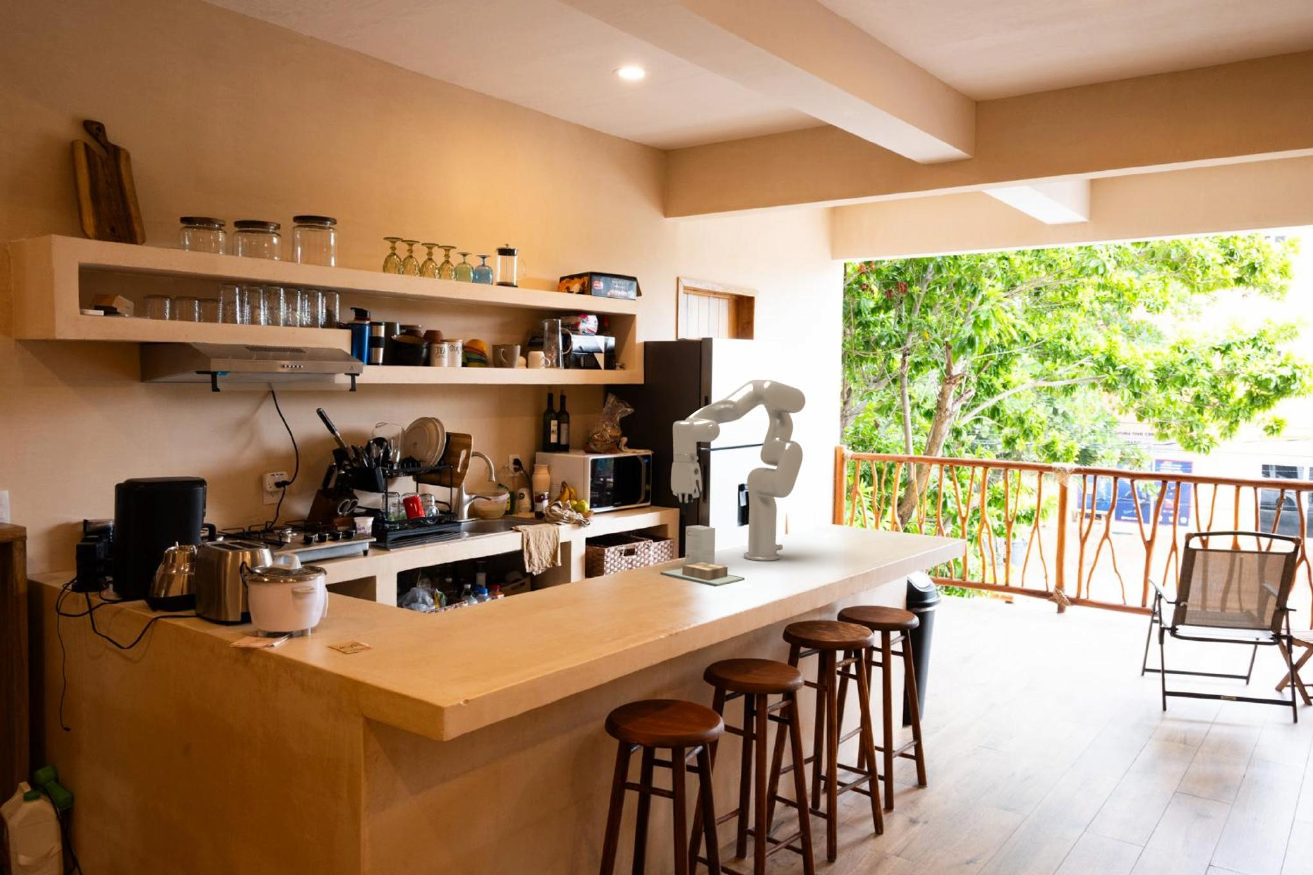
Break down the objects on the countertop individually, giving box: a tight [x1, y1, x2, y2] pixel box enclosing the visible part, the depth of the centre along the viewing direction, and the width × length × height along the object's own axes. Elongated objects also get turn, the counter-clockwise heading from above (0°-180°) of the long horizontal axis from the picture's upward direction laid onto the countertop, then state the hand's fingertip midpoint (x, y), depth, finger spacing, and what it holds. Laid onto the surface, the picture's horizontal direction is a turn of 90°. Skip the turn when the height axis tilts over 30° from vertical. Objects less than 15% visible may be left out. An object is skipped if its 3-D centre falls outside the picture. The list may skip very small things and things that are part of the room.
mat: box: [659, 567, 745, 587], centre depth 304 cm, size 14×23×1 cm, turn 46°
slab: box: [681, 562, 729, 581], centre depth 303 cm, size 9×3×11 cm
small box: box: [684, 524, 716, 565], centre depth 321 cm, size 8×6×13 cm
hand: (686, 513), depth 317 cm, fingers closed
